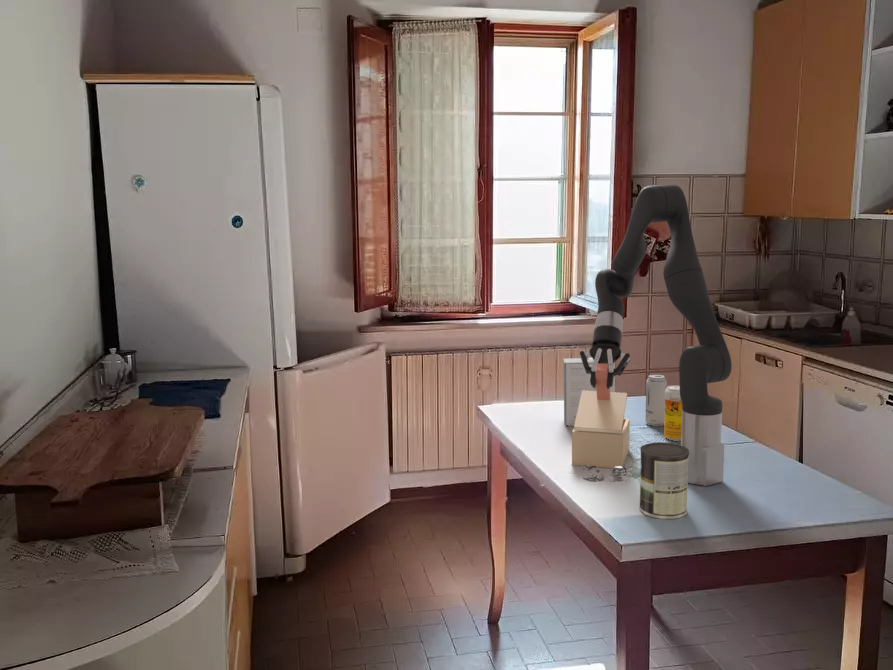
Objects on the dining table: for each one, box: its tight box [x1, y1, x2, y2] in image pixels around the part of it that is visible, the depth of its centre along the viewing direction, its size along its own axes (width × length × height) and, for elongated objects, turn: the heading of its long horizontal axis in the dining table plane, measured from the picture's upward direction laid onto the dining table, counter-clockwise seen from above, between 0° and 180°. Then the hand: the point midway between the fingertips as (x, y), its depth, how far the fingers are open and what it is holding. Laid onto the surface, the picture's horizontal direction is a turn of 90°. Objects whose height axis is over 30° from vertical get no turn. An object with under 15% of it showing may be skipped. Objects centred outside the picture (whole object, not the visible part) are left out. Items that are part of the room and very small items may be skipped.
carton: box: [571, 418, 631, 469], centre depth 214 cm, size 16×13×9 cm
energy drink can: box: [644, 374, 668, 427], centre depth 244 cm, size 6×6×15 cm
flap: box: [573, 363, 628, 434], centre depth 208 cm, size 15×12×11 cm
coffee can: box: [639, 442, 689, 520], centre depth 176 cm, size 10×10×14 cm
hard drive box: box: [563, 357, 617, 427], centre depth 246 cm, size 16×8×20 cm, turn 84°
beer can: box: [663, 384, 682, 442], centre depth 229 cm, size 6×6×15 cm
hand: (601, 386), depth 210 cm, fingers closed on flap, 3 cm apart
